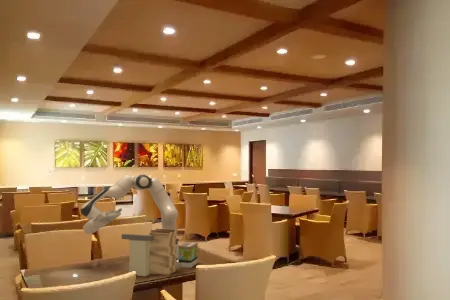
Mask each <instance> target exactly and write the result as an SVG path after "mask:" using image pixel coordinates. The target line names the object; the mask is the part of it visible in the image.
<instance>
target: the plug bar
mask: <svg viewBox="0 0 450 300" xmlns="http://www.w3.org/2000/svg"><path fill="white" fill-rule="evenodd" d="M121 240H128V241H129V240H144V241H153V240H154V235H149V234H136V233H135V234H134V233H121Z"/></svg>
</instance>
